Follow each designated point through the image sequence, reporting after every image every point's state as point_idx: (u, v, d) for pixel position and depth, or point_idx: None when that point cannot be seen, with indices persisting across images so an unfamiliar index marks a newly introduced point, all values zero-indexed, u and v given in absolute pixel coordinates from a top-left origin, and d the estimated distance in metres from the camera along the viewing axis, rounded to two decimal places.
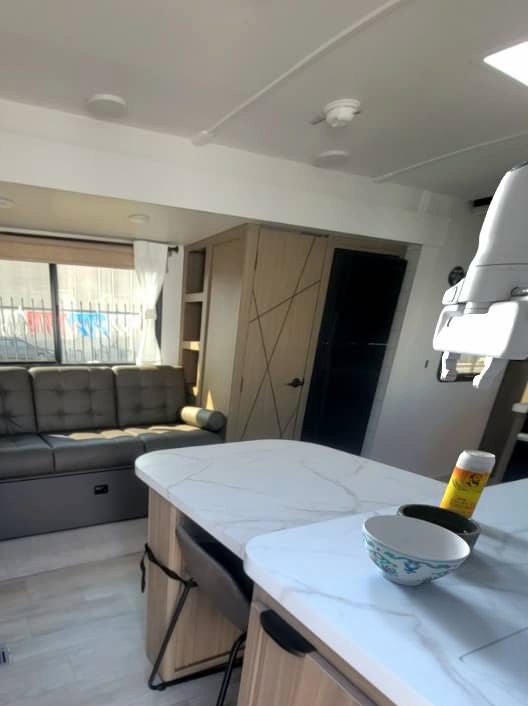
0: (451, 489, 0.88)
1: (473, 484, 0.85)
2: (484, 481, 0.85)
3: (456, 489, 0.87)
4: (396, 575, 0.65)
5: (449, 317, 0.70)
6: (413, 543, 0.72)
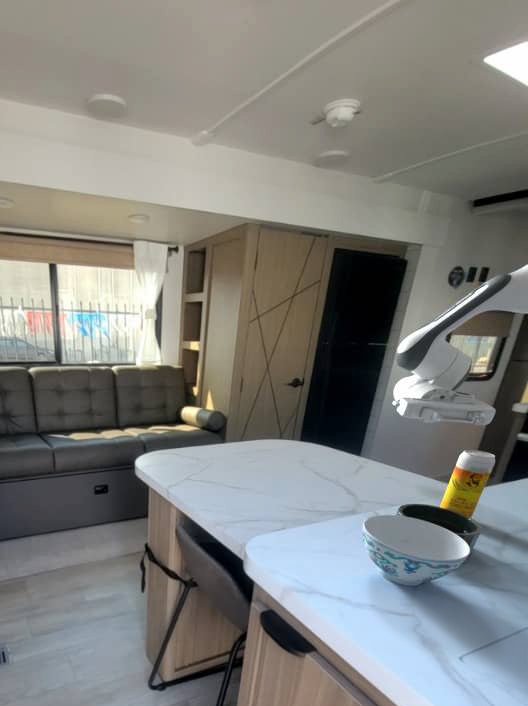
0: (451, 489, 0.88)
1: (473, 484, 0.85)
2: (484, 481, 0.85)
3: (456, 489, 0.87)
4: (396, 575, 0.65)
5: None
6: (413, 543, 0.72)
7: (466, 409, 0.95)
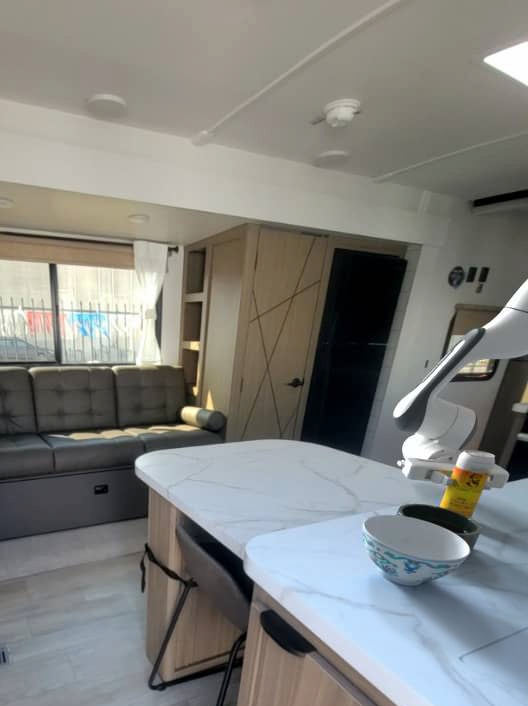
0: (451, 489, 0.88)
1: (473, 484, 0.85)
2: (484, 481, 0.85)
3: (456, 489, 0.87)
4: (396, 575, 0.65)
5: None
6: (413, 543, 0.72)
7: None
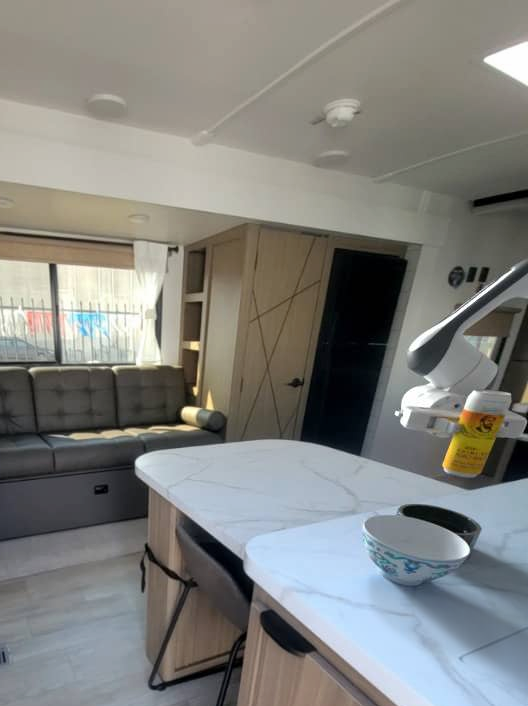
0: (458, 437, 0.74)
1: (485, 429, 0.71)
2: (498, 425, 0.70)
3: (464, 436, 0.73)
4: (396, 575, 0.65)
5: None
6: (413, 543, 0.72)
7: None
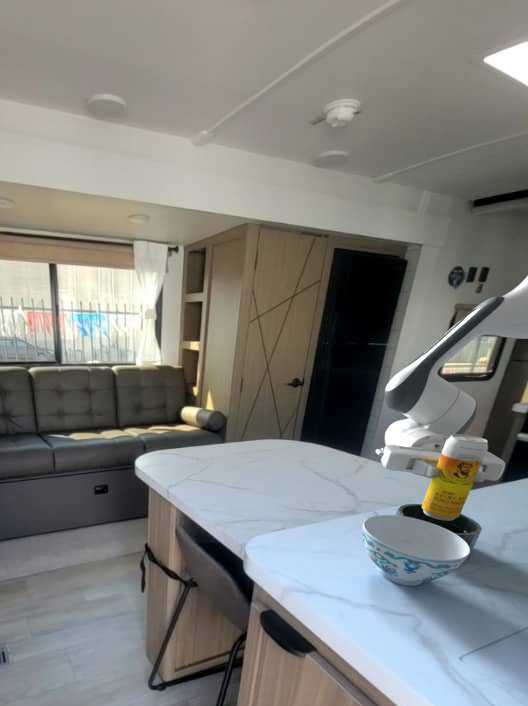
0: (436, 481, 0.74)
1: (462, 475, 0.71)
2: (474, 471, 0.71)
3: (441, 481, 0.73)
4: (396, 575, 0.65)
5: None
6: (413, 543, 0.72)
7: None
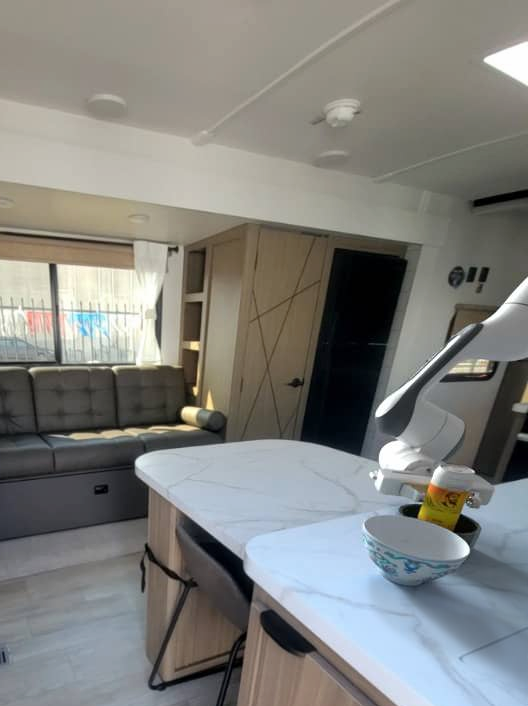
0: (426, 509, 0.77)
1: (450, 504, 0.73)
2: (462, 501, 0.73)
3: (431, 509, 0.76)
4: (396, 575, 0.65)
5: None
6: (413, 543, 0.72)
7: None
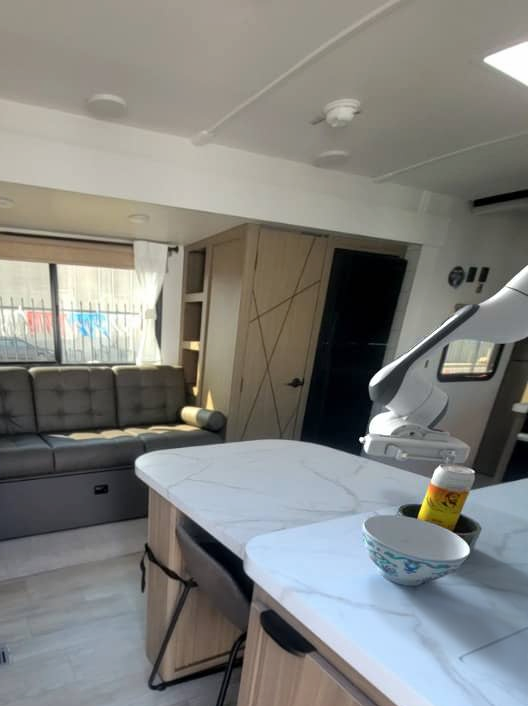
0: (426, 509, 0.77)
1: (450, 504, 0.73)
2: (462, 501, 0.73)
3: (431, 509, 0.76)
4: (396, 575, 0.65)
5: None
6: (413, 543, 0.72)
7: (436, 446, 0.88)
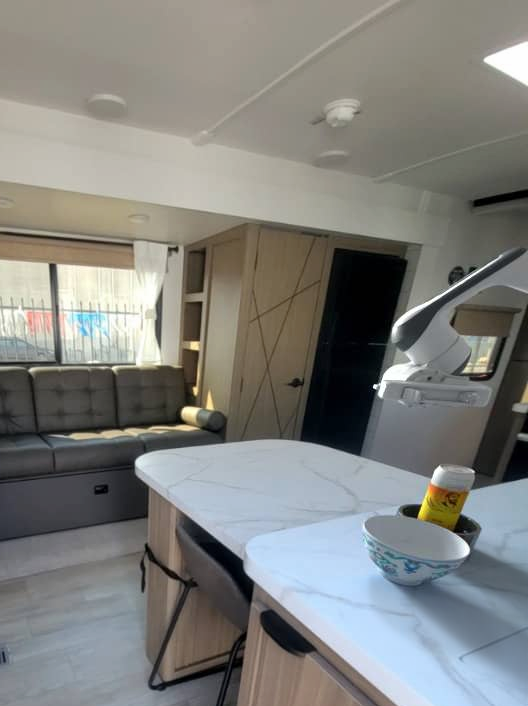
0: (426, 509, 0.77)
1: (450, 504, 0.73)
2: (462, 501, 0.73)
3: (431, 509, 0.76)
4: (396, 575, 0.65)
5: None
6: (413, 543, 0.72)
7: (456, 388, 0.83)
